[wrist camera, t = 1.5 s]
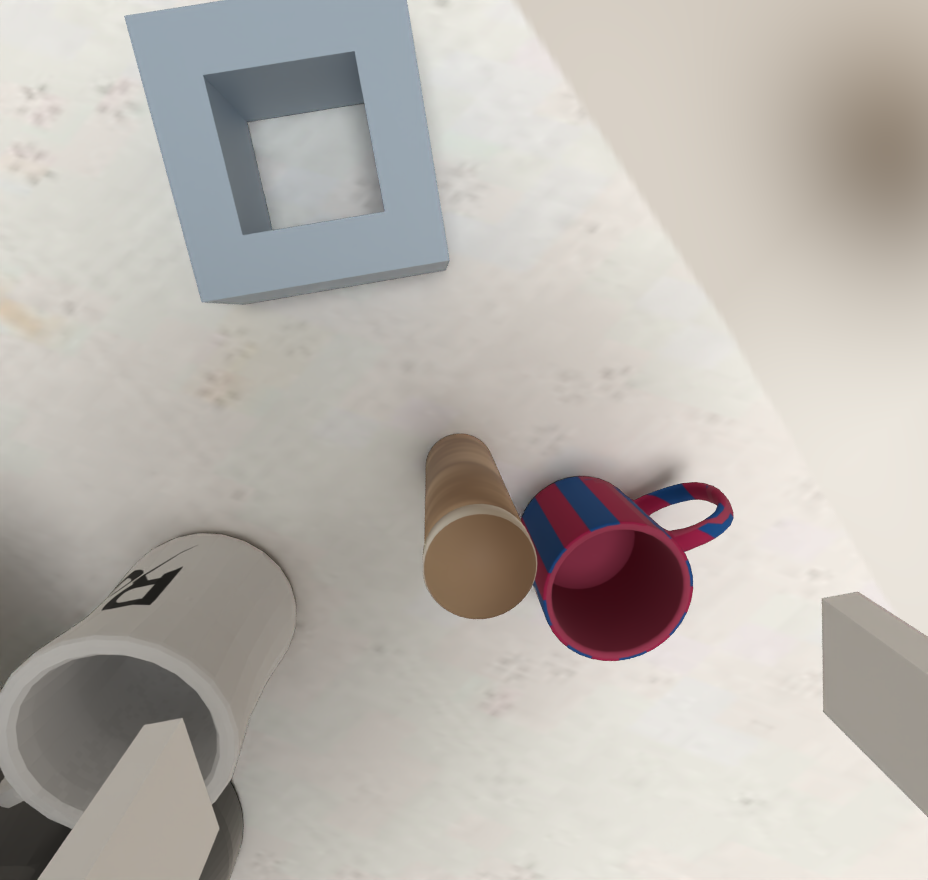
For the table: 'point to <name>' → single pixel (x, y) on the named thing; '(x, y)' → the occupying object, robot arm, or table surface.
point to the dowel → (473, 533)
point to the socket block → (280, 94)
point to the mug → (148, 673)
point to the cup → (615, 563)
